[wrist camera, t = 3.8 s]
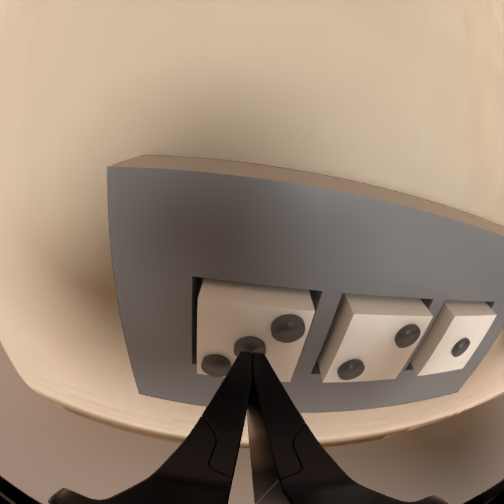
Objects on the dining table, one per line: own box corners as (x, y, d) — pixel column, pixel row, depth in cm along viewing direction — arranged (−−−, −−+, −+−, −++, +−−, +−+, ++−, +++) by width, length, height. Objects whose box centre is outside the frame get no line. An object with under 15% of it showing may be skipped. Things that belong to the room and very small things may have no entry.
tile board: (507, 228, 12) (539, 249, 9) (440, 363, 17) (457, 392, 14) (144, 154, 11) (107, 166, 8) (153, 353, 16) (139, 393, 13)
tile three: (306, 283, 11) (316, 314, 9) (286, 353, 12) (290, 385, 11) (205, 272, 11) (196, 302, 9) (202, 344, 12) (196, 376, 10)
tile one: (480, 297, 11) (498, 317, 10) (450, 349, 13) (464, 370, 11) (436, 294, 11) (456, 318, 9) (405, 353, 13) (418, 378, 11)
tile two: (415, 293, 11) (435, 318, 9) (384, 354, 13) (396, 381, 11) (341, 287, 11) (355, 316, 9) (316, 354, 13) (323, 385, 11)
